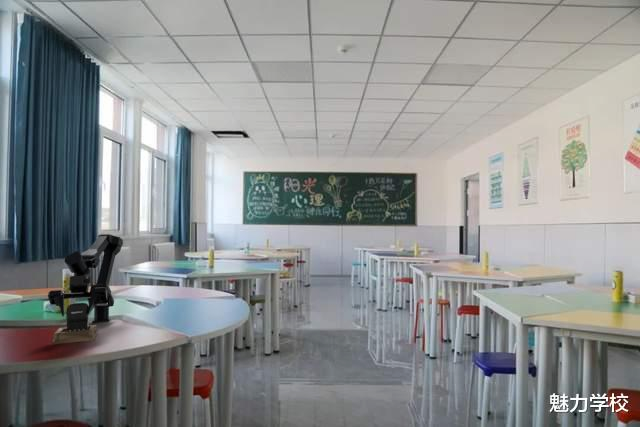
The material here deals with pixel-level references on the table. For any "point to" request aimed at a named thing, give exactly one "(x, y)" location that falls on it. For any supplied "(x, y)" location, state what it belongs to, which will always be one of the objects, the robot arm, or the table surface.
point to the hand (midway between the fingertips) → (75, 314)
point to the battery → (77, 317)
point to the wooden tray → (74, 335)
